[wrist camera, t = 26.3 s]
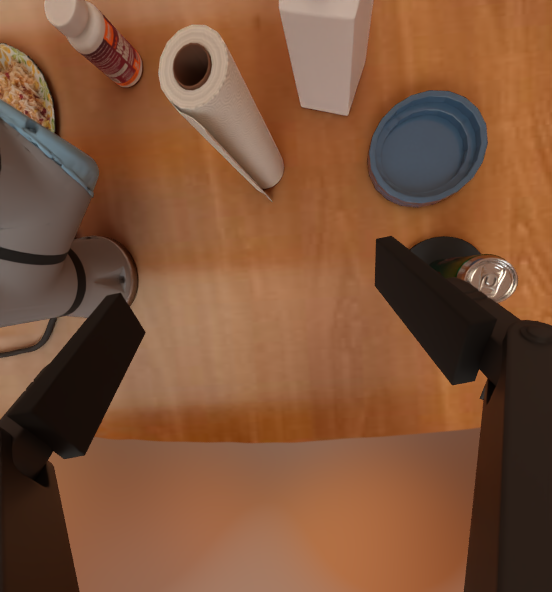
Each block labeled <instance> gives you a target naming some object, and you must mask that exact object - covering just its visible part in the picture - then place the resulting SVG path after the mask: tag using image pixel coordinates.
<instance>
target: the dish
mask: <svg viewBox="0 0 552 592" xmlns="http://www.w3.org/2000/svg"><path fill="white" fill-rule="evenodd" d="M487 144H488V140H487V128H486V123H485V121H484V119H483V117H482V115H481V113H480V111H479V109H478V108H477V107H476V106H474V105H473V104H472V103H471V102H470V101H469V100H468V99H467V98H465V97H463V96H461V95H458V94H455V93H453V92H450V91H433V90H429V91H426V92H422V93H418V94H415V95H411V96H410V97H408V98H406V99H405V100H403V101H401V102H400V103H398V104H396V105H395V106H394V107H393V108H392V109H391V110H390V111H389V112H388V113H387V114H386V115H385V116H384V117H383V118H382V120H381V121H380V123H379V125H378V127H377V128H376V130H375V132H374V134H373V136H372V140H371V144H370V149H369V154H368V159H367V162H368V170H369V176H370V178H371V180H372V182H373V184H374V186H375V188H376V190H377V191H379V192H380V193H381V194H382V195H383V196H384V197H385V198H386V199H387V200H389V201H392V202H394V203H396V204H398V205H401V206H408V207H423V206H428V205H433V204H436V203H438V202H440V201H442V200H444V199H446V198H448V197H450V196H451V195H453V194H454V193H456V192H457V191H459V190H460V189H461V188H462V187H463V186H464V185H465V184H467V183H468V182H469V181H470V180H471V179H472V178H473V177H474V175H475V173H476V172H477V170H478V169H479V167H480V166H481V164H482V162H483V159H484V156H485V152H486V148H487Z"/></svg>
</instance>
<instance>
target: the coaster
mask: <svg viewBox="0 0 552 592" xmlns="http://www.w3.org/2000/svg"><path fill="white" fill-rule="evenodd" d="M410 251H411V252H413V253H414V254H415V255H416V256H418V257H419V258H420V259H422V260H423V261H424V262H425V263H427V264H428V265H429V264H430V263H432V262H434V261H436V260H439V259H446V258H455V257H463V256H472V255H481V254H480V252H479V251H478V250H477V249H476V248H475V247H474V246H472V245H471V244H469V243H468V242H466V241H464V240H462V239H458V238H454V237H445V236H444V237H435V238H431V239H428V240H425V241H422V242H420V243H418V244H417V245H415V246H414V247H413V248H411V249H410Z"/></svg>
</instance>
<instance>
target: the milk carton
mask: <svg viewBox="0 0 552 592" xmlns="http://www.w3.org/2000/svg"><path fill="white" fill-rule="evenodd" d="M372 7H373V0H279V10H280V15H281V20H282V24H283V29H284V33H285V38H286V42H287V47H288V51H289V56H290V60H291V65H292V69H293V73H294V78H295V82H296V87H297V91H298V96H299V100H300V105H301V107H304V108H309V109H314V110H319V111H324V112H330V113H335V114H340V115H345V116H348V114H349V111H350V108H351V105H352V102H353V99H354V96H355V92H356V89H357V86H358V83H359V80H360V77H361V74H362V71H363V68H364V64H365V60H366V53H367V45H368V38H369V30H370V22H371V15H372Z"/></svg>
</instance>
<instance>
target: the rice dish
mask: <svg viewBox="0 0 552 592" xmlns="http://www.w3.org/2000/svg"><path fill="white" fill-rule="evenodd" d="M0 99H1V100H3V101H4V102H6V103H7V104H9V105H11V106H12V107H14V108H15V109H17V110H19V111H20V112H22V113H23V114H25V115H26V116H28V117H30V118H31V119H33V120H34V121H36V122H37V123H39V124H40V125H42V126H44V127H45V128H47V129H48V130H50V131H52V132H53V133H55V112H54V110H53V108H54V105H53V103H54V100H53V98H52V96H51V92H50V90H49V88H48V84H47V82H46V80H45V77H44V75H43V73H42V71H41V70H40V69H39V67H37V64H35V63H34V61H33V60H32V59H30V57H29V56H27V55H25V54H24V53H23V52H21V51H19V50H18V49H16V48H14V47H12V46H8V45H7V44H6V43H0Z"/></svg>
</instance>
